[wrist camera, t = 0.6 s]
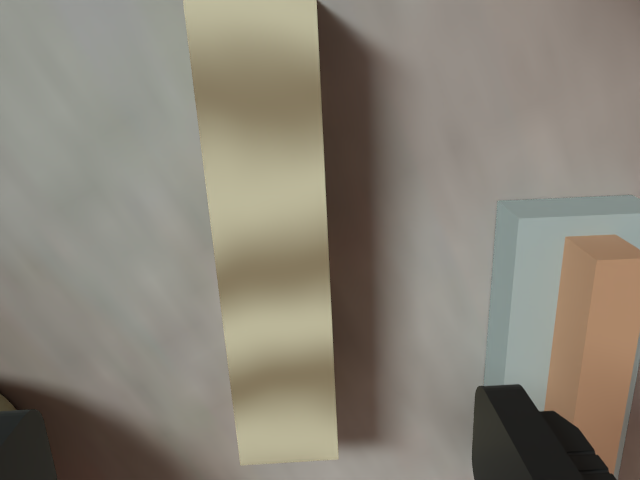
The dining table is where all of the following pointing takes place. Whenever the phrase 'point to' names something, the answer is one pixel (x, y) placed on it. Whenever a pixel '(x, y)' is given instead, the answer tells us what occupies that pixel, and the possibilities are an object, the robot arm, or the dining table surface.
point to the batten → (268, 219)
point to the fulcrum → (569, 311)
